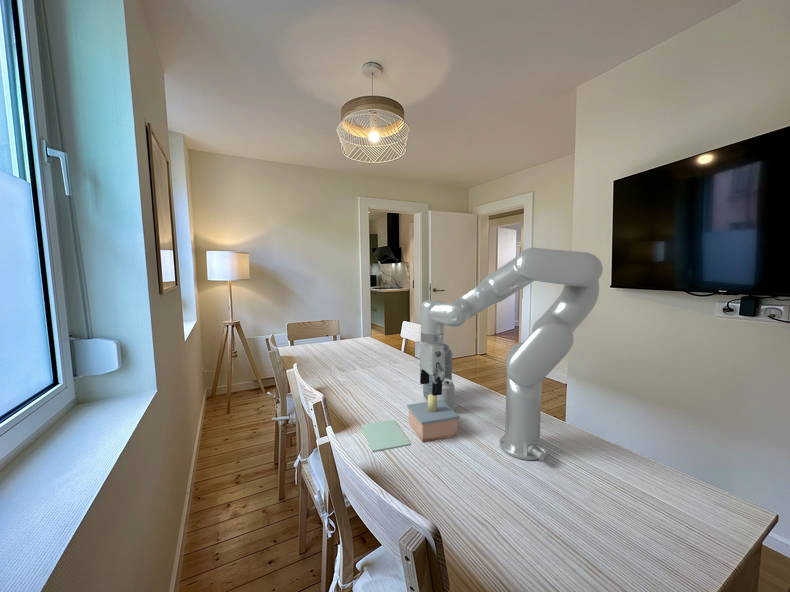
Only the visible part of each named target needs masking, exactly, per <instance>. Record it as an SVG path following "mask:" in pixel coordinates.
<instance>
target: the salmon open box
mask: <svg viewBox="0 0 790 592" xmlns="http://www.w3.org/2000/svg"><path fill="white" fill-rule="evenodd" d="M408 425H409V426H410V428H411V427H412V428H411V429H412V431H413V432H414V431H415V432H414V433H415V435H416V436H417V437H418V438H419V440H420V441H421V443H427V442H433V441H437V440H438V441H439V440H442V439H443V440H444V439H449V438H455V437H458V419H454V420H448V421H442V422H436V423H430V424H424V425H421V423H420V422H419V421H418V420H417V418H416V417H415V416H414V415H413V414H412V412H411V411H410V410H409V409H408Z"/></svg>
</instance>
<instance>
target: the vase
mask: <svg viewBox="0 0 790 592" xmlns="http://www.w3.org/2000/svg"><path fill="white" fill-rule="evenodd" d="M443 345H444V353H445V376H444V378H446V379H450V380H452V381H453V352H452V350H451V349H450V348H449V345H448V344H447V343H444V344H443ZM434 373H438V372H434ZM435 377H436V379H437V377H439V376H435ZM432 383H434V382H433V378H432V376H431V375H430V374H429V384H422V394H423V395H422V396H423V397H424V398H425V400H426V402H428V395H429V394H432Z"/></svg>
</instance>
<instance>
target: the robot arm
mask: <svg viewBox="0 0 790 592" xmlns="http://www.w3.org/2000/svg"><path fill="white" fill-rule="evenodd" d="M603 271H604V267H603V263H602V261H601V260H600V258H599V257H597V255H595V254H592V253H590V252H588V251H587V252H585V251H577V250H576V251H575V250H563V249H562V250H561V249H551V248H543V247H529V248H525V249H524V250H522V251H521V252H520V253H519V254H518V255H517V256H516V257H514V258H513V259H511V260H510V261H507V263H505V264H503V265H502V266H500V267H499V268H498V269H496V270H494V271H493V272H491V273H490V274H488V275H487V276H486V277H484V278H483V280H481V282H480V283H478V285H477V286H475V287H474V288H473V289H471V290H470V291H467V293H465V294H464V295H462V296H460V297H459V298H458V299H456V300H454V301H451V302H444V301H442V300H437V299H427V300H424V301H422V303H421V312H420V314H421V316H420V344H421V345H420V353H419V354H420V356H419V366H420V367H419V368H420V369H419V372H420V375H419V383H420V385H423V384H429V374H430V375H431V376H432V378H433V382H434V383H432V395H433V396H436V395H441V394H442V383H443V380H444V376H445V353H444V345H443V344H445V341H444V340H445V326H448V327H449V326H450V327H456V328H457V327H460V326H462V325H463V324H465V322H466V323H467V321H468V320H470V319H471V318H473V317H474V316H476V315H478V314H479V313H480V312H482V311H483V310H485V309H487V308H489V307H491V306H493V305H495V304H498V303H500V302H503V301H504V300H506V299H508V298H509V297H511V296H512V295H514V294H515V293H517V292H520V290H522V289H524V288H525V287H527V286H528V285H530V284H531V283H533V282H535V281H536V282H541V283H548V284H555V285H556V284H557V285H563V289H562V291H561V292H560V295H559V296H558V297H557V298H556V299H555V301H554V302H553V303H552V304H551V306H550V307H549V308H548V309H547V310H546V311H545V312H544V313H543V314H542V315H541V316H540V317H539V318H538V319H537V320H536V321H535V322H534V324H533V325H532V329H531V333H530V334H529V335H528V336H526V338H525V339H524V341H523V342H518V343H515V344H514V345H512V346H511V348H510V349H509V351H507V352H508V353H507V354H506V360H505V361H506V362H505V371H506V388H505V389H506V390H505V391H506V395H505V431H504V434H503V435H502V436H501V437H500V438H499V446H500V448H501V449H502V451H504V452H505V453H506V454H508V455H510V456H511V457H514V458H517V459H520V460H526V461H534V460H535V461H536V460H540V461H541V462H542V461H544V460H545V458H546V456H549V455H548V454H549V451H548V450H547V449H546V446H545V445H544V443H543V439H541V438H540V437H541V416H542V415H541V413H542V411H541V410H542V409H541V408H542V392H543V391H542V390H543V388H542V387H543V386H542V385H543V383H542V381H543V380H544V379H545V378H546V377H547V376H548V375H549V374H550V373H551V372H552V371H553V369H555V368H556V367H557V365H558V364H560V362H561V361H563V359H564V358H565V357H566V356H567V355H568V354H569V352H570V350H572V348H573V344H574V342H575V341H574V339H575V337H574V332H575V331H576V329H577V328H579V326H580V325H581V324H582V323H583V321H584V320H585V319H586V318H588V316H589V314H590V313H591V312H592V311H593V309H594V308H595V306H596V304H597V302H598V299H599V295H600V281H599V279H600V278H602V275H603ZM434 372H438V373H434ZM435 376H439V377H437V379H436V377H435Z"/></svg>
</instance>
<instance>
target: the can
mask: <svg viewBox="0 0 790 592" xmlns="http://www.w3.org/2000/svg"><path fill="white" fill-rule="evenodd" d="M437 400H442V401H443V402H444V403H445V404H446V405H448V406H449V407H450V408H451V409H452V410H453V411H454V412H455V383H454V382H453V379H452V380H450V379H446V378H444V380H443V383H442V394H441V395H437Z"/></svg>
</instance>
